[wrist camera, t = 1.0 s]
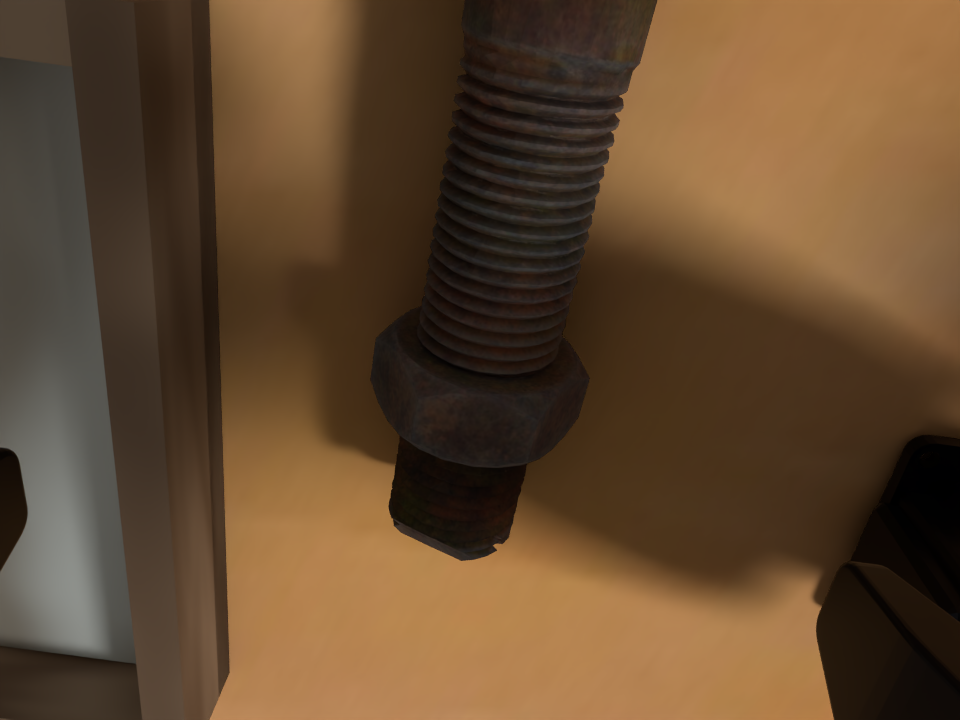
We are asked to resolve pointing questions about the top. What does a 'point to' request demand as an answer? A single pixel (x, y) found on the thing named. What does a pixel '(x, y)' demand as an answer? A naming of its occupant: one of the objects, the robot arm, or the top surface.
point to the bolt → (504, 265)
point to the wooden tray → (111, 362)
